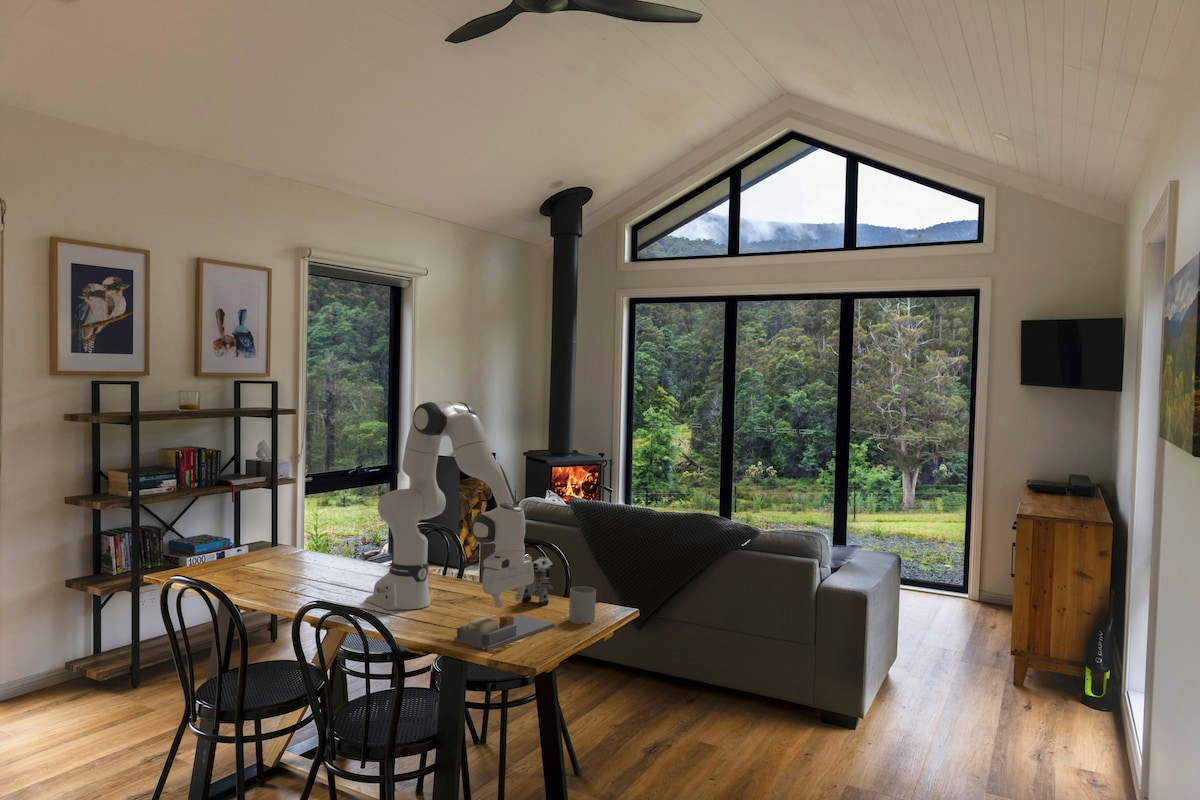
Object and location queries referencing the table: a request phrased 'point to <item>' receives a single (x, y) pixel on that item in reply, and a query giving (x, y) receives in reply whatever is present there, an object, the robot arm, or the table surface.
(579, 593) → the cup
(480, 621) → the block
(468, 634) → the grey slider tray
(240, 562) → the table surface
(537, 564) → the figurine
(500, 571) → the robot arm
